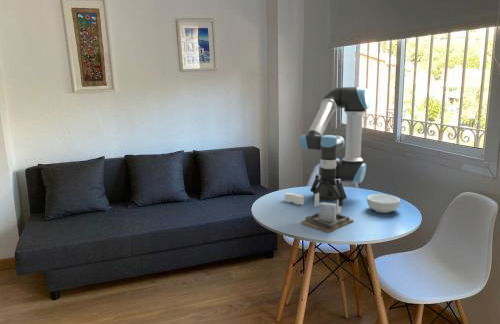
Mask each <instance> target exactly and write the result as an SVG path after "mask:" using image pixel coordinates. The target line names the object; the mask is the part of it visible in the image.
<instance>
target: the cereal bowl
mask: <svg viewBox="0 0 500 324" xmlns="http://www.w3.org/2000/svg"><path fill="white" fill-rule="evenodd" d="M366 204H367V206H368V207H369V208H370V209H372V210H374V211H375V212H376V213H381V214H389V213H391V212H394V211H396V210H398V209H399V206H400V204H401V200H400V198H399V197H397V196H396V195H395V196H394V195H391V194H382V193H377V194H376V193H375V194H374V193H373V194H369V195H367V197H366Z"/></svg>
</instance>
